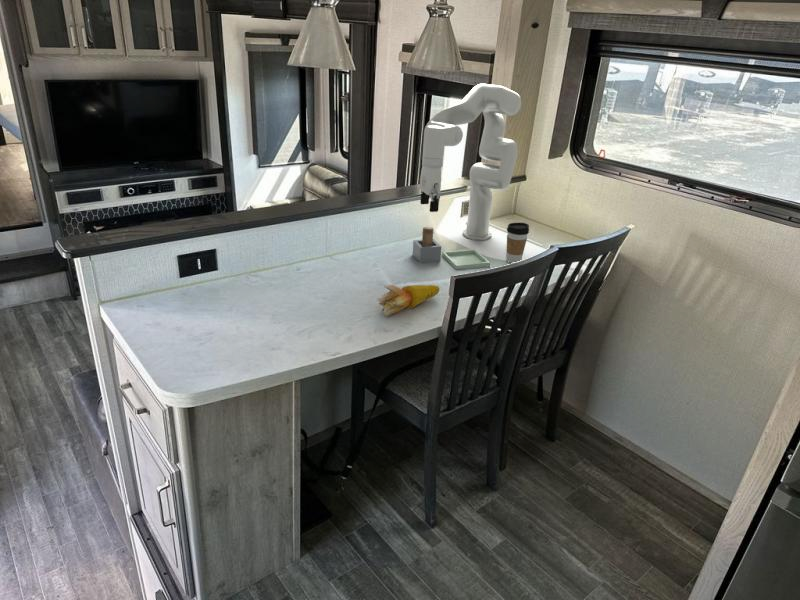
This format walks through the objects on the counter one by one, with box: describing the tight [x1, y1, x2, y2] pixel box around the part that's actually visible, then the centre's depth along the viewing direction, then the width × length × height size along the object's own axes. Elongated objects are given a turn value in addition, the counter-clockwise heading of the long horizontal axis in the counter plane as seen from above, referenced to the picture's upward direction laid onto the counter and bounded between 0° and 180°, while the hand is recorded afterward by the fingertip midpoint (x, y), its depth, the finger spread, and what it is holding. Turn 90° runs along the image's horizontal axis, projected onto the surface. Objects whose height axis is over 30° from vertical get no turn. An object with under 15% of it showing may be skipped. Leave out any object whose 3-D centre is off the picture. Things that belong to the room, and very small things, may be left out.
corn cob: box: [376, 284, 440, 318], centre depth 187 cm, size 8×8×25 cm
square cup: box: [412, 238, 442, 264], centre depth 223 cm, size 8×8×7 cm
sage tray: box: [441, 248, 491, 270], centre depth 223 cm, size 14×14×2 cm
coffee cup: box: [505, 222, 530, 264], centre depth 224 cm, size 8×8×15 cm
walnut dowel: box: [421, 226, 434, 247], centre depth 221 cm, size 4×4×12 cm
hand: (429, 207), depth 215 cm, fingers open, 9 cm apart
